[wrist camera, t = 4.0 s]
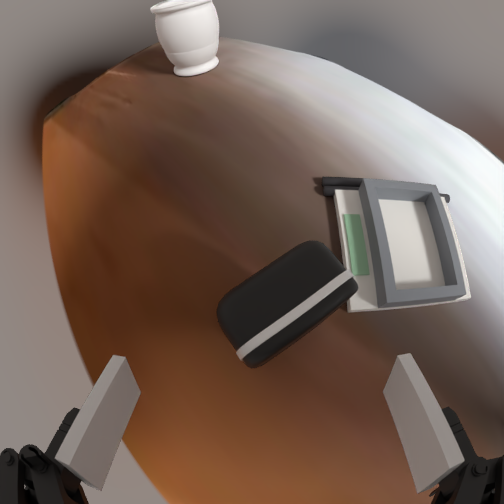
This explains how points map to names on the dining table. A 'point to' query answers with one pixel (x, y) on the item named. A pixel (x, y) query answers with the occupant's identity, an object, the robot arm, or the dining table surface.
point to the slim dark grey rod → (349, 185)
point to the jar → (188, 34)
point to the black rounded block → (284, 302)
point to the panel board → (399, 246)
